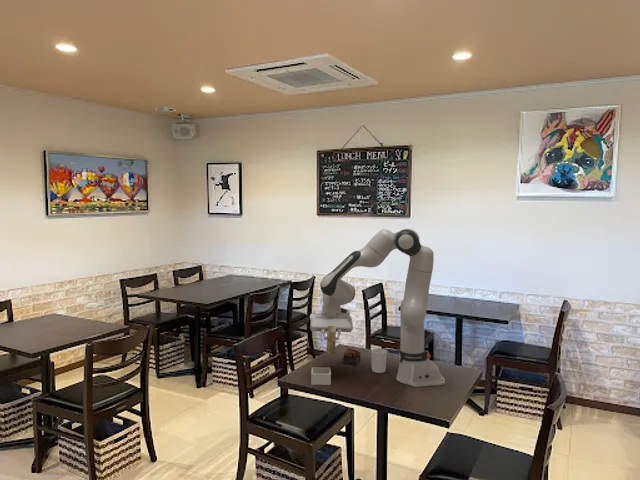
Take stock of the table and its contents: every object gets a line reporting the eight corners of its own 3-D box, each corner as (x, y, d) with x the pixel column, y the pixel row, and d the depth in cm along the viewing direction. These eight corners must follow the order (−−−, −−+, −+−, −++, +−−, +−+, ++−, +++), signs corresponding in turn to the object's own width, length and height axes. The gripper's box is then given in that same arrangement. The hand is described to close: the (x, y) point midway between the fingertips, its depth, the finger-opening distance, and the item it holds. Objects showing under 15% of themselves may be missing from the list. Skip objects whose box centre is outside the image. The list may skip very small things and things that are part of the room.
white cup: (386, 374, 233) (386, 354, 232) (370, 372, 234) (370, 353, 233) (387, 368, 240) (387, 349, 239) (371, 367, 242) (371, 348, 241)
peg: (335, 351, 224) (335, 326, 223) (335, 353, 220) (336, 328, 219) (326, 350, 224) (327, 325, 223) (326, 353, 220) (327, 328, 219)
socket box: (330, 377, 227) (330, 367, 227) (330, 384, 219) (330, 374, 218) (311, 377, 227) (311, 367, 227) (311, 384, 218) (311, 374, 218)
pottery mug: (338, 361, 252) (343, 346, 255) (353, 368, 254) (358, 353, 257) (346, 362, 241) (352, 347, 244) (362, 369, 243) (367, 354, 246)
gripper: (309, 309, 227) (309, 335, 219) (352, 310, 228) (353, 336, 219) (309, 316, 232) (308, 341, 223) (351, 317, 232) (352, 342, 224)
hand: (331, 338), depth 221 cm, fingers closed on peg, 4 cm apart
